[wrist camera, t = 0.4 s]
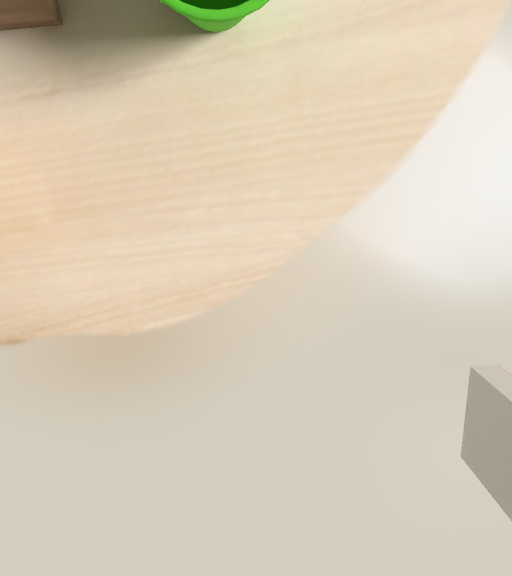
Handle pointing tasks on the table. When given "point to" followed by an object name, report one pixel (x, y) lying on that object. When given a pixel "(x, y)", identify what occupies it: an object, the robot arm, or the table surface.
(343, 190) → the table surface
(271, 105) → the table surface
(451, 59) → the table surface
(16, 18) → the walnut block
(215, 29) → the cup
